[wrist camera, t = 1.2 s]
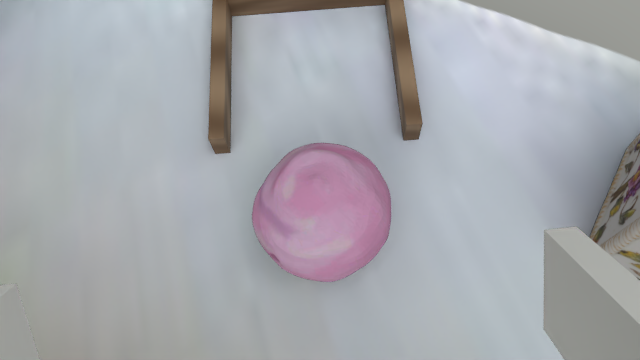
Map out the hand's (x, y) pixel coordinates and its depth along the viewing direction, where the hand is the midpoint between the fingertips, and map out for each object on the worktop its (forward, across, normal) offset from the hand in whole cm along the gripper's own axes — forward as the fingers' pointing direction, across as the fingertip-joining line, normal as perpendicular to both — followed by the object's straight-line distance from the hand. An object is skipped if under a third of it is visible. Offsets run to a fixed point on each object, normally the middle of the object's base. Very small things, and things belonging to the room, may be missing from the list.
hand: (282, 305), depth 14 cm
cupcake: (+26, 0, -10) cm, 27 cm away
